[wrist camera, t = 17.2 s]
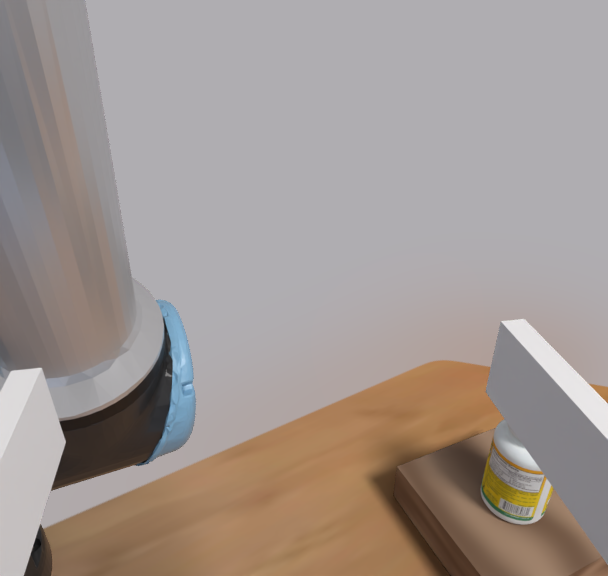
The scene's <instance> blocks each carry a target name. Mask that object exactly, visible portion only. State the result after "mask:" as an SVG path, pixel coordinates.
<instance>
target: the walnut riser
mask: <svg viewBox="0 0 608 576" xmlns="http://www.w3.org/2000/svg"><path fill="white" fill-rule="evenodd" d="M495 429H496V428H494V429H492V430H489V431H486V432H484V433H481V434H479V435H476V436H474V437H471V438H468V439H466V440H463V441H461V442H458V443H456V444H453V445H451V446H448V447H445V448H443V449H440V450H438V451H435V452H433V453H430V454H428V455H425V456H422V457H420V458H417V459H415V460H412V461H410V462H407V463H405V464H402V465H399V466H397V470H396V478H395V487H394V495H393V496H394V497H395V499H396V500H397V501H398V503H399V504H400V506H401V507H402V508H403V510H404V511H405V513H406V514H407V515H408V517H409V518H410V519H411V521H412V522H413V524H414V525H415V526H416V528H417V529H418V531H419V532H420V533H421V535H422V536H423V538H424V539H425V540H426V542H427V543H428V545H429V546H430V547H431V549H432V550H433V552H434V553H435V554H436V556H437V557H438V559H439V560H440V561H441V563H442V564H443V566H444V567H445V568H446V570H447V571H448V573H449V574H450V575H451V576H608V565H607V563H606V562H605V560H604V559H603V558H602V556H601V555H600V553H599V552H598V550H597V549H596V548H595V546H594V545H593V543H592V542H591V541H590V539H589V538H588V536H587V535H586V533H585V532H584V531H583V529H582V528H581V526H580V525H579V524H578V522H577V521H576V519H575V518H574V516H573V515H572V514H571V512H570V511H569V509H568V508H567V507H566V505H565V504H564V502H563V501H562V499H561V498H560V497H559V495H558V494H557V492H556V491H555V489H553V492H552V494H551V497H550V500H549V503H548V505H547V508H546V511H545V513H544V515H543V516H542V518H541V519H539V520H538V521H537V522H535V523H532V524H526V525H520V524H514V523H510V522H507V521H505V520H503V519H501V518H499V517H498V516H496V515H495V514H494V513H493V512H492V511H491V510H490V509H489V508H488V507H487V506H486V504H485V503H484V501H483V499H482V496H481V484H482V479H483V474H484V471H485V467H486V463H487V459H488V455H489V451H490V447H491V442H492V439H493V435H494V432H495Z"/></svg>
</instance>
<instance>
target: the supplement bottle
mask: <svg viewBox="0 0 608 576" xmlns="http://www.w3.org/2000/svg"><path fill="white" fill-rule="evenodd" d="M553 489H554V488H553V487H552V485H551V484H550V482H549V481H548V480H547V478H546V477H545V475H544V474H543V472H542V471H541V470H540V468H539V467H538V465H537V464H536V463H535V461H534V460H533V458H532V457H531V455H530V454H529V453H528V451H527V450H526V448H525V447H524V445H523V444H522V443H521V441H520V440H519V438H518V437H517V436H516V434H515V433H514V431H513V430H512V428H511V427H510V426H509V424H508V423H507V421H506V420H505V419H504V420H503V421H501V422H500V423H499V424H498V426H497V427H496V429H495V432H494V435H493V439H492V442H491V447H490V451H489V455H488V459H487V463H486V467H485V471H484V474H483V479H482V484H481V496H482V499H483V501H484V503H485V504H486V506H487V507H488V508H489V509H490V510H491V511H492V512H493V513H494V514H495V515H496V516H498V517H499V518H501V519H503V520H505V521H507V522H510V523H514V524H520V525H526V524H532V523H535V522H537V521H538V520H539V519H541V518H542V516H543V515H544V513H545V511H546V508H547V505H548V503H549V500H550V497H551V494H552V492H553Z"/></svg>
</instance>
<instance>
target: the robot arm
mask: <svg viewBox="0 0 608 576" xmlns="http://www.w3.org/2000/svg"><path fill="white" fill-rule="evenodd" d="M193 379H194V378H193V366H192V359H191V354H190V349H189V344H188V340H187V336H186V333H185V329H184V326H183V324H182V321H181V319H180V316H179V314H178V312H177V310H176V308H175V307H174V306H173V305H172V304H171V303H169V302H167V301H165V300H155V298H154V297H153V296H152V294H151V293H150V291H149V290H147V289H146V288H145V287H144V286H143V285H142V284H141V283H139V282H138V281H136V280H135V279H133V278H132V276H131V270H130V264H129V258H128V252H127V247H126V240H125V235H124V229H123V223H122V217H121V211H120V205H119V199H118V193H117V187H116V181H115V175H114V169H113V163H112V158H111V152H110V146H109V139H108V134H107V128H106V122H105V116H104V110H103V104H102V98H101V92H100V86H99V81H98V74H97V68H96V63H95V56H94V51H93V44H92V39H91V33H90V27H89V21H88V15H87V9H86V3H85V0H0V576H51V570H52V554H51V549H50V545H49V542H48V540H47V537H46V535H45V532H44V530H43V528H42V526H41V524H40V523H41V520H42V516H43V513H44V510H45V507H46V504H47V501H48V497H49V494H50V491H52V490H55V489H58V488H61V487H65V486H68V485H71V484H74V483H78V482H81V481H84V480H87V479H90V478H94V477H97V476H100V475H104V474H107V473H110V472H113V471H117V470H120V469H123V468H126V467H130V466H132V465H136V466H140V465H144V464H148V463H149V462H150V461H153V460H154V459H156V457H159V456H162V455H164V454H167V453H170V452H173V451H175V450H177V449H179V448H181V447H182V446H183V445H184V444H185V443H186V442H187V440H188V439H189V437H190V435H191V433H192V430H193V426H194V420H195V409H196V404H195V403H196V399H195V391H194V387H193V385H192V382H193ZM486 393H487V394H488V396H489V397H490V399H491V400H492V402H493V403H494V404H495V406H496V407H497V409H498V410H499V411H500V413H501V414H502V416H503V417H504V419H505V420H506V421H507V423H508V424H509V426H510V427H511V428H512V430H513V431H514V433H515V434H516V436H517V437H518V438H519V440H520V441H521V443H522V444H523V445H524V447H525V448H526V450H527V451H528V453H529V454H530V455H531V457H532V458H533V460H534V461H535V463H536V464H537V465H538V467H539V468H540V470H541V471H542V472H543V474H544V475H545V477H546V478H547V480H548V481H549V482H550V484H551V485H552V487H553V488H554V489H555V491H556V492H557V494H558V495H559V497H560V498H561V499H562V501H563V502H564V504H565V505H566V507H567V508H568V509H569V511H570V512H571V514H572V515H573V516H574V518H575V519H576V521H577V522H578V524H579V525H580V526H581V528H582V529H583V531H584V532H585V533H586V535H587V536H588V538H589V539H590V541H591V542H592V543H593V545H594V546H595V548H596V549H597V550H598V552H599V553H600V555H601V556H602V558H603V559H604V560H605V562H606V563H607V565H608V403H607V402H606V401H605V400H604V399H603V398H602V397H601V396H600V395H599V394H598V393H597V392H596V391H595V390H594V389H593V388H592V387H591V386H590V385H589V384H588V383H587V382H586V381H585V380H584V379H583V378H582V377H581V376H580V375H579V374H578V373H577V372H576V371H575V370H574V369H573V368H572V367H571V366H570V365H569V364H568V363H567V362H566V361H565V360H564V359H563V358H562V357H561V356H560V355H559V354H558V353H557V352H556V351H555V350H554V349H553V348H552V347H551V346H550V345H549V344H548V343H547V342H546V340H544V338H542V337H541V335H539V333H538V332H537V331H536V330H535V329H534V328H533V327H532V326H531V325H530V324H529V323H528V322H527V321H526V320H525V319H520V320H509V321H501V323H500V327H499V332H498V337H497V341H496V346H495V351H494V356H493V360H492V365H491V369H490V374H489V378H488V383H487V387H486Z"/></svg>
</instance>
